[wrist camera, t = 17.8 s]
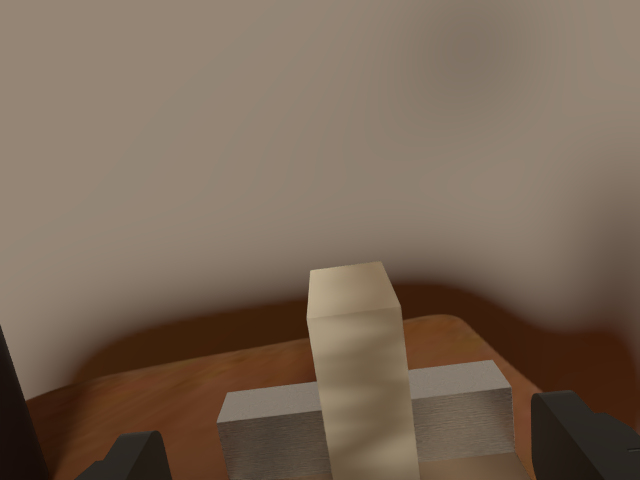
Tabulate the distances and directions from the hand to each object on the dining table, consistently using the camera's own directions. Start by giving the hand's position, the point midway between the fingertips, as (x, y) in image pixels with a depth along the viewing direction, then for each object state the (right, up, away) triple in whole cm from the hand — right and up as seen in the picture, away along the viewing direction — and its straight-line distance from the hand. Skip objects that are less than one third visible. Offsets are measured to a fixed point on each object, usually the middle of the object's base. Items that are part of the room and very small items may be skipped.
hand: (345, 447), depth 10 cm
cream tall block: (+2, -9, +13) cm, 16 cm away
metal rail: (+2, -8, +18) cm, 20 cm away
